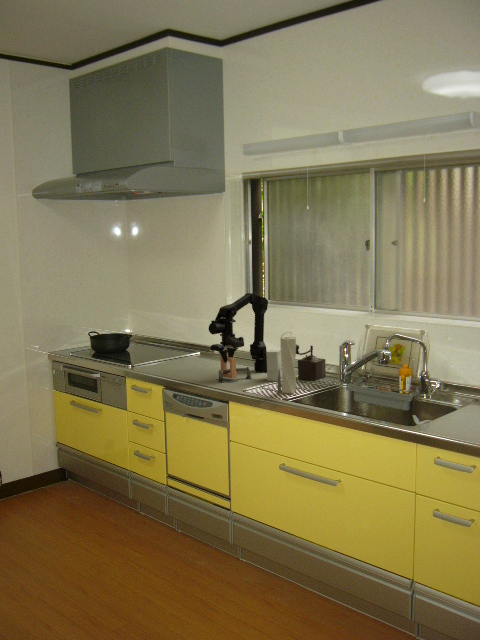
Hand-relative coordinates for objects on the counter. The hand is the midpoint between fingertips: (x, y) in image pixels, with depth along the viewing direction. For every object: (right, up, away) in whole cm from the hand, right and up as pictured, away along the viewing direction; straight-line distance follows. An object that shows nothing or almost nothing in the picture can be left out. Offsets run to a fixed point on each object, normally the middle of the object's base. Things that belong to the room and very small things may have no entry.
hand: (228, 362), depth 336 cm
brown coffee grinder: (+40, -8, -1) cm, 41 cm away
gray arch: (+3, -9, 0) cm, 10 cm away
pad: (-1, -9, 0) cm, 9 cm away
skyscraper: (+29, -12, -26) cm, 41 cm away
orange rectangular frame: (0, -7, +1) cm, 7 cm away
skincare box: (+23, -9, -1) cm, 25 cm away
